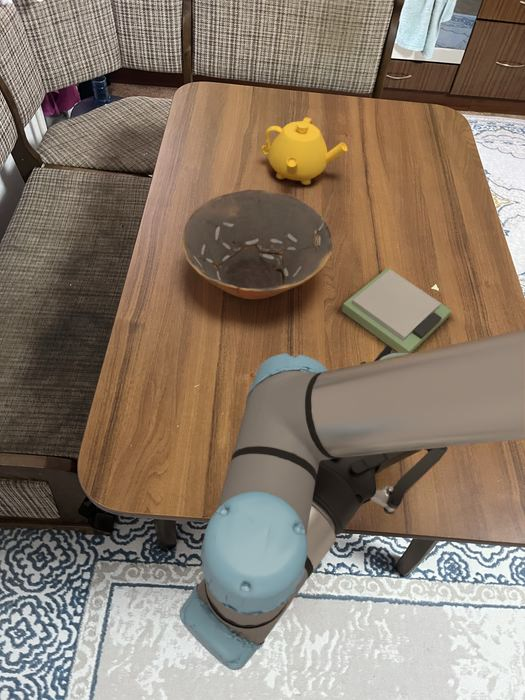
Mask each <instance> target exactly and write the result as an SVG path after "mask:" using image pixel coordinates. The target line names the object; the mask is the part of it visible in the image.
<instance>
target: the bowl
mask: <svg viewBox="0 0 525 700" xmlns="http://www.w3.org/2000/svg"><path fill="white" fill-rule="evenodd" d="M181 243H182V244H181V247H182V250H183V252H184V255H185V258H186V261H187V262H188V263H189V265H190V266H191V267H192V268H193V269H194V271H196V272H197V274H199V275H200V276H201V277H202V278H203V279H205V280H206V281H207V282H209V283H211V284H212V285H213V286H215V287H217V288H219V289H220V290H222V291H224V292H225V293H227V294H230V295H232V296H234V297H237V298H240V299H245V300H261V299H267V298H271V297H275V296H277V295H279V294H282V293H285V292H287V291H290V290H292V289H294V288H296V287H299V286H300V285H303V284H304V283H306V282H308V281H309V280H310V279H312V278H313V277H314V276H315V275H317V274H318V273H319V272H321V270H322V269H323V268H324V267H325V265H326V263H327V262H328V260H329V259H330V257H331V255H332V253H333V240H332V232H331V230H330V227H329V226H328V224H327V222H326V220H325V219H324V217H323V216H322V215H321V214H320V213H319V212H318V211H317V209H315V208H313V207H312V206H310V205H309V204H308V203H306V202H305V200H302V199H300V198H297V197H295V196H292V195H290V194H287V193H282V192H277V191H271V190H264V189H245V190H244V189H243V190H239V191H235V192H234V191H232V192H229V193H225V194H224V193H223V194H221V195H217V196H215V197H213V198H211V199H210V200H208V201H206V202H204V203H203V204H202V205H200V206H199V207H198V208H196V209H195V210H194V211H193V212H192V213H191V214H190V216H189V217H188V219H187V220H186V222H185V223H184V228H183V232H182V237H181ZM283 278H284V279H283Z"/></svg>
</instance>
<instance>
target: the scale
mask: <svg viewBox="0 0 525 700" xmlns="http://www.w3.org/2000/svg"><path fill="white" fill-rule="evenodd" d="M341 312H342V313H344V315H346V316H347V317H349V318H350V319H352V320H353V321H354V322H356V323H357V324H359V325H360V326H362V327H363V328H364V329H365V330H367V331H368V332H370V334H372V335H374V336H375V337H376V338H377V339H379V340H380V341H382V342H383V343H385V344H386V346H388V347H390V348H391V349H392V350H394V351H395V352H396V353H408V354H411V353H414V352H415V350H417V349H418V348H419V347H420V346H421V344H423V343H424V342H425V341H426V340H427V339H428V338H429V337H430V336H431V335H432V334H433V333H434V332H435V331H436V330H437V329H438V328H439V327H440V326H441V325H442V324H443V323H444V322H445V321H447V320H448V318H449V317H450V315H451V313H452V309H451V308H449V307H447V306H446V305H445V304H444V303H441V302H440V301H438V299H436V298H435V297H433V296H431V295H429V294H428V293H426V292H425V291H424V290H422V289H421V288H420V287H418V286H416V285H414V284H413V283H411V282H410V281H408V280H407V279H405V277H402V276H401V275H399V274H398V273H397V272H396V271H394V270H392V269H390V268H389V267H386V268H385V269H384V270H382V271H381V272H380V273H379V274H377V275H376V276H375V277H374V278H372V280H370V281H369V282H368V283H366V284H365V285H364V286H363V287H362V288H360V289H359V290H357V292H356V293H354V294H352V296H351V297H349V298H348V299H347V300H346V301H344V302H343V303H342V306H341Z"/></svg>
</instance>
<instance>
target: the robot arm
mask: <svg viewBox="0 0 525 700" xmlns="http://www.w3.org/2000/svg"><path fill="white" fill-rule="evenodd" d="M392 350H393V348H391V347H390V346H389V345H385V347H384V348H383V349H382V351H380V353H379V354H378V355H377V357H375V358H374V360H373V361H369V362H367V361H362V362H360V363H359V364H355V365H350V366H345V367H340V368H336V369H332V370H328V369H327V368H326V366H325V365H324V364H322V363H321V362H320V361H318V360H317V359H314V358H312V357H310V356H308V355H304V354H298V355H296V356H293V355H290V354H289V353H280V354H276V355H273V356H269V358H266V359H265V360H264V361H263V362H262V363H261V364H260V365H259V368H257V370H256V373H255V377H254V379H253V382H252V384H251V387H250V389H249V390H248V393H247V395H246V399H245V400H246V401H245V407H244V411H243V415H242V418H241V422H240V425H239V429H238V433H237V437H236V441H235V445H234V449H233V451H232V452H233V453H232V456H231V459H230V461H229V464H228V469H227V471H226V476H225V478H224V482H223V486H222V489H221V493H220V495H219V500H218V503H217V506H216V510H215V512H213V514H212V516H211V517H210V519H209V521H208V522H207V525H206V528H205V532H204V537H203V542H202V544H201V546H200V555H199V556H200V560H201V567H200V568H201V570H202V572H203V579H202V580H201V581H200V582H199V583H197V584H195V586H194V587H193V589H192V592H191V593H190V595H189V596H188V598H186V600H185V602H184V603H183V604H182V606H181V607H180V610H179V619H180V621H181V623H182V625H183V626H184V627H185V629H186V630H187V631H188V632H189V634H190V635H191V636H193V638H194V639H195V640H196V641H197V642H198V643H199V644H200V645H201V646H202V647H203V648H204V649H205V650H206V651H207V652H208V653H209V654H210V655H211V656H212V657H213V658H215V659H216V660H217V661H218V662H219V663H220V664H222V665H223V666H224V667H226V668H227V669H229V670H231V671H239V670H241V669H243V668H244V667H245V666H246V664H248V662H249V661H250V659H251V658H252V657H253V656H254V654H255V653H256V652H257V651H258V650H260V648H262V647H263V645H264V643H265V642H266V639H267V638H268V636H269V634H270V633H271V631H272V630H273V629H274V628H275V626H276V625H277V624H278V623H279V621H280V619H281V618H282V616H283V615H284V614H285V612H286V611H287V609H288V607H289V606H290V605H291V603H292V602H293V601H294V599H295V598H296V596H297V595H298V593H299V592H300V590H302V587H303V586H304V585H305V583H306V582H307V581H308V579H309V578H310V577H311V575H312V574H313V573H314V572H315V571H316V569H317V568H318V567H319V565H320V564H321V562H322V561H323V559H324V558H325V557H326V556H327V554H328V552H330V550H331V548H332V547H333V546H334V544H335V543H336V540H337V536H338V535H341V534H342V533H343V531H344V530H345V529H346V527H347V526H348V525H349V523H350V522H351V520H352V519H353V518H354V516H355V515H356V513H357V512H358V511H359V509H360V508H361V507H362V506H363V505H364V504H367V503H369V502H371V501H372V502H373V503H375V504H376V505H379V506H381V507H383V511H384V512H385V514H387V515H393V514H394V513H395V512H396V511H397V509H398V508H399V507H400V506H401V504H402V502H403V500H404V496H405V494H406V493H408V492H409V490H411V488H412V487H413V486H414V485H416V483H418V482H419V481H420V480H421V479H422V478H423V477H424V476H425V475H426V474H427V473H428V472H429V471H430V470H432V468H433V467H434V466H435V465H436V464H438V462H439V461H440V460H441V459H442V458H443V456H444V455H445V454H446V453H447V451H448V448H450V447H460V446H468V445H469V446H471V445H480V444H490V443H491V444H492V443H499V442H509V441H519V440H525V328H523V329H518V330H513V331H508V332H504V333H499V334H495V335H490V336H486V337H481V338H477V339H472V340H467V341H461V342H457V343H453V344H449V345H448V344H447V345H444V346H439V347H435V348H430V349H425V350H421V351H416V352H415V351H414V352H412V353H411V354H406V355H401V356H397V357H392V358H387V359H383V360H379V359H380V358H382V357H383V356H386V355H388V354H391V353H392ZM423 450H424V451H426V452H427V453H426V454H425V455H424V456H422V457H421V458H420V459H419V461H417V462H416V463H415V464H414V465H413V466H412V467H411V468H410V469H409V470H408V471H406V473H405V474H404V475H402V476H401V477H400V478H399V479H398V480H397V482H396V483H395V485H394V486H392V485H386V486H384V488H383V489H377V479H376V478H377V477H376V475H377V474H380V473H381V472H382V471H383V470H386V469H387V468H389V467H391V466H393V465H396V464H397V463H400V462H401V461H404V460H405V459H407V458H409V457H411V456H413V455H415V454H417V453H419V452H421V451H423Z"/></svg>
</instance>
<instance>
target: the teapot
mask: <svg viewBox="0 0 525 700" xmlns="http://www.w3.org/2000/svg"><path fill="white" fill-rule="evenodd" d="M271 132H276V133H277V135H276V136H275V137H274V139H273V141H272V142H271V138H270V135H271V134H270V133H271ZM347 151H348V146H347V144H346V143H345V142H343V141H341V142H340V143H338V144H337V145H336V146H334V147H333V148H332V149H330V150H329V151H328V148H327V144H326V141H325V139H324V137H323V134H322V132H321V131H320V129H319V128H318V127H317V126H315V125H314V124H313V120H312V118H310V117H307V116H305V117H304V118H303V120H300V121H299V120H298V121H293V122H289V123H287V124H286V125H285V126H284V127H281V126H279V125H270V126H269V127H268V128H267V129H266V131H265V144H263V145H262V146H261V153H262V154H263V155H265V156H268V161H269V164H270V166H271V167H272V169H273V170H274V171H275V172H276V174H275V176H276V178H277V179H278V180H284V179H288V180H291V181H297V182H299V181H300V183H301V184H302V185H306V186H308V185H310V184H312V182H311V181H312V179H314V178H316V177H317V176H319V175H321V174H322V173H323V172H325V171H324V170H326V168H327V167H328V164H330V163H331V162H333V161H334V160H335V159H337V158H338V157H340V156H341V155H343V154H345V153H346V152H347Z"/></svg>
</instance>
